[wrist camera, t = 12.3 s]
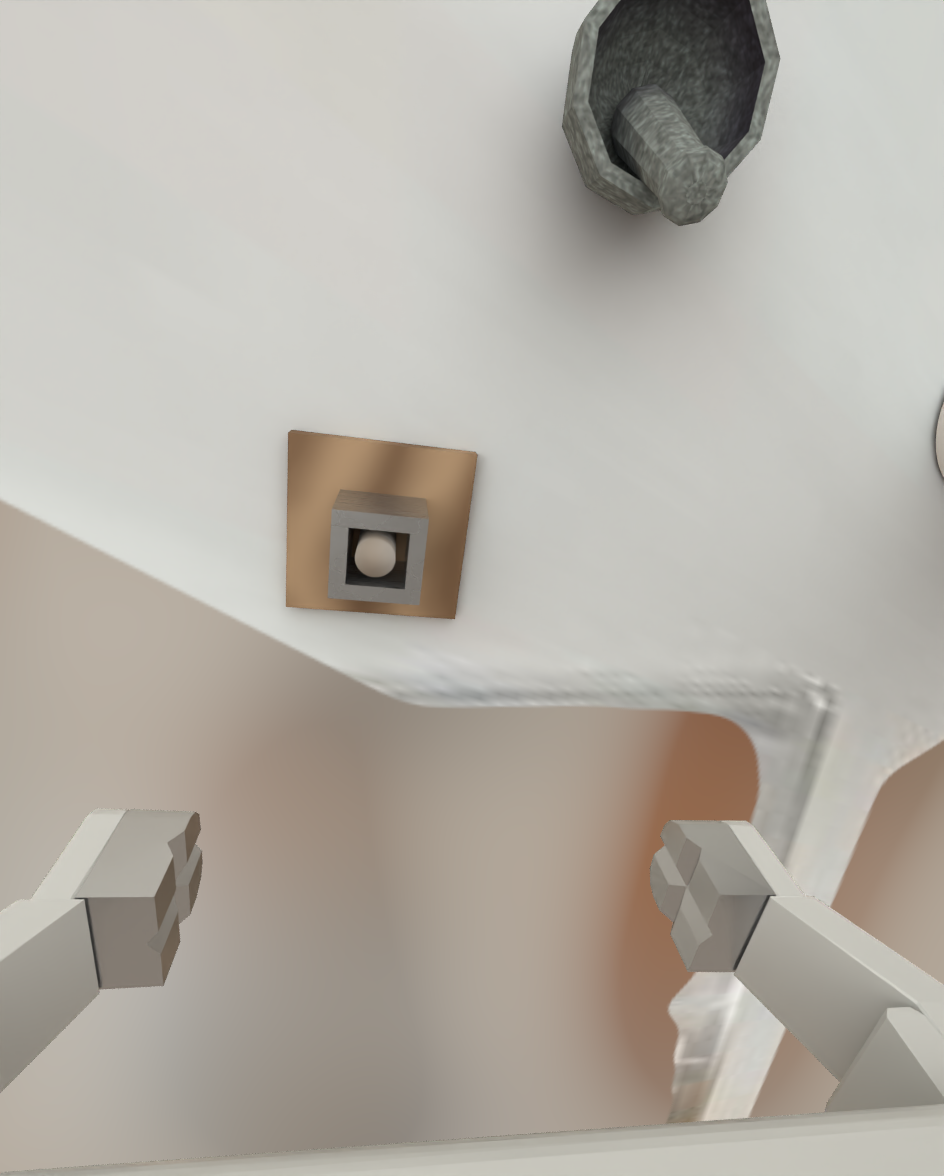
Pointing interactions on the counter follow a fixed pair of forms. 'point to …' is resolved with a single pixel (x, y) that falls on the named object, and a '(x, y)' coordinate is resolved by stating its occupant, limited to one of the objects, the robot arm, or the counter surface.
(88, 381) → the counter surface
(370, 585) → the square sleeve
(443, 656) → the counter surface
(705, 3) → the mortar and pestle
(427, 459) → the post block
